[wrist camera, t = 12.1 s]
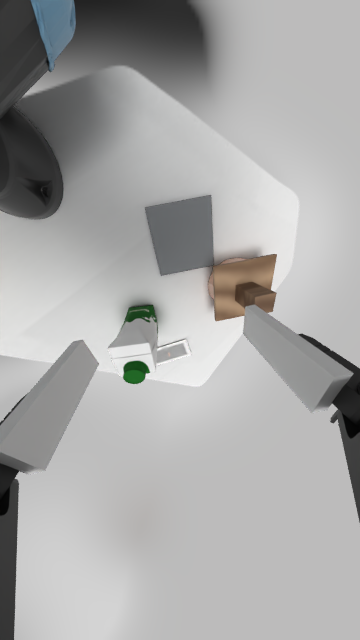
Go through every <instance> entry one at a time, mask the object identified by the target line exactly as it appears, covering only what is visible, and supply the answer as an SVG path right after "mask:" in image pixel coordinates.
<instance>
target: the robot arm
mask: <svg viewBox="0 0 360 640" xmlns="http://www.w3.org/2000/svg"><path fill="white" fill-rule="evenodd" d="M75 24H76V22H75V6H74V0H0V210H1V211H3V212H5V213H8V214H11V215H14V216H17V217H22V218H28V219H43V218H47V217H49V216H51V215H52V214H53V213H54V212H55V211H56V210H57V209H58V207H59V205H60V203H61V200H62V194H63V184H62V177H61V173H60V169H59V166H58V163H57V161H56V158H55V156H54V154H53V152H52V150H51V148H50V147H49V145H48V143H47V142H46V140H45V139H44V137H43V136H42V135H41V133H40V132H39V131H38V130H37V128H36V127H35V126H34V125H33V124H32V123H31V122H30V121H29V120H28V119H27V118H26V117H25V116H24V115H23V114H22V113H21V112H20V111H18V110H17V109H16V108H15V107H14V106H13V105H14V104H15V103H16V102H17V101H18V100H19V99H20V98H21V97H22V96H23V95H24V94H25V93H26V92H27V91H28V90H29V89H30V88H31V87H32V86H33V85H34V84H35V83H36V82H37V81H38V80H39V79H40V78H41V77H42V76H43V75H44V74H45V73H46V72H47V70H49V71H50V72H51V71H52V70H53V69H54V66H55V65H54V61H55V60H56V58H57V57H58V56H59V55H60V53H61V52H62V51H63V50H64V48H65V47H66V46H67V44H68V43H69V42H70V41H71V39H72V38H73V35H74V32H75ZM243 334H244V335H245V337H246V338H247V339H248V340H249V341H250V342H251V344H252V345H253V346H254V347H255V348H256V349H257V350H258V352H259V353H260V354H261V355H262V356H263V357H264V359H265V360H266V361H267V362H268V363H269V364H270V365H271V366H272V368H273V369H274V370H275V371H276V372H277V374H278V375H279V376H280V377H281V378H282V379H283V381H284V382H285V383H286V384H287V385H288V386H289V387H290V389H291V390H292V391H293V392H294V393H295V394H296V396H297V397H298V398H299V399H300V400H301V401H302V403H303V404H304V405H305V406H306V407H307V408H308V409H309V411H310V412H311V413H315V412H320V411H325V410H327V409H328V408H329V406H330V405H331V404H334V405H335V406H336V407H337V408H338V410H337V411H336V412H335V413H334V415H333V416H332V417H331V421H330V422H331V423H334V422H335V421H336V420H337V419H338V423H339V427H340V432H341V437H342V441H343V446H344V451H345V456H346V460H347V465H348V470H349V474H350V479H351V484H352V488H353V493H354V498H355V502H356V507H357V512H358V516H359V521H360V369H359V368H358V367H357V366H355V365H353V364H352V363H350V362H349V361H347V360H346V359H344V358H343V357H341V356H340V355H338V354H337V353H335V352H333V351H331V350H330V349H329V348H327V347H326V346H323V345H322V344H321V343H320V342H318V341H317V340H315V339H313V338H311V337H309V336H306V335H304V334H296V333H295V332H293V331H292V330H290V329H289V328H288V327H286V326H285V325H283V324H282V323H280V322H279V321H278V320H276V319H275V318H273V317H272V316H270V315H269V314H268V313H266V312H265V311H263V310H262V309H260V308H259V307H258V306H256V305H250V306H246V307H245V318H244V330H243ZM98 365H99V363H98V362H97V360H96V359H95V357H94V356H93V354H92V353H91V351H90V350H89V348H88V347H87V345H86V344H85V342H84V341H83V340H79V341H74V342H72V343H71V345H70V346H69V347H68V348H67V349H66V350H65V352H64V353H63V354H62V355H61V356H60V357H59V358H58V360H57V361H56V362H55V363H54V364H53V365H52V366H51V368H50V369H49V370H48V371H47V372H46V374H45V375H44V376H43V377H42V378H41V379H40V380H39V381H38V383H37V384H36V385H35V386H34V387H33V389H32V390H31V391H30V392H29V393H28V394H27V395H25V396H24V397H23V398H22V399H21V400H20V401H19V402H18V403H17V404H16V405H15V406H14V408H13V409H12V411H11V412H9V413H8V414H7V416H6V417H5V418H4V420H3V421H1V422H0V640H14V620H15V587H16V555H17V554H16V553H17V522H18V521H17V520H18V490H19V483H18V480H17V479H14V478H15V477H16V475H17V473H18V472H19V471H20V472H23V473H26V474H34V473H39V472H43V471H45V469H46V468H47V465H48V464H49V462H50V460H51V458H52V456H53V454H54V452H55V450H56V448H57V446H58V444H59V442H60V440H61V438H62V436H63V434H64V432H65V430H66V428H67V426H68V424H69V422H70V420H71V418H72V416H73V414H74V412H75V410H76V408H77V406H78V404H79V402H80V400H81V398H82V396H83V394H84V392H85V390H86V388H87V386H88V384H89V382H90V380H91V379H92V377H93V375H94V372H95V371H96V369H97V367H98Z"/></svg>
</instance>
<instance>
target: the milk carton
mask: <svg viewBox="0 0 360 640" xmlns="http://www.w3.org/2000/svg"><path fill="white" fill-rule="evenodd" d="M157 342H158V325H157V319H156V315H155V312H154V308H153V305H149V306H140V307H131V308H129V309H128V312H127V315H126V318H125V321H124V323H123V325H122V327H121V330H120V332H119V334H118V336H117V338H116V339H115V340H114V341H113V342H112V343H111V344H110V346H109V347H108V348H107V350H108V352H109V354H110V356H111V361H112V363H113V364H114V366H115V369H116V371H117V373H118V375H119V376H120V377H122V376H123V378H124V380H125V381H126V382H128V383H131V384H138V383H141V382H142V381H143V380H144V379H145V374H146V373H150V372H156V361H157Z"/></svg>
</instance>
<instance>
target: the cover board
mask: <svg viewBox="0 0 360 640" xmlns="http://www.w3.org/2000/svg"><path fill="white" fill-rule="evenodd" d="M276 257H277V254H271V255H266V256H261V257H256V258H251V259H246V260H241V261H236V262H231V263H226V264H221V265H216V266H213V288H214V311H215V320H216V321H220V320H225V319H230V318H235V317H240V316H245V307H246V306H250V305H256V306H258V307H259V308H260V309H262V310H263V311H265V312H266V313H269V312H272V311H273V307H274V302H275V297H276V293H275V292H274V291H271V285H272V279H273V274H274V268H275V262H276Z"/></svg>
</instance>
